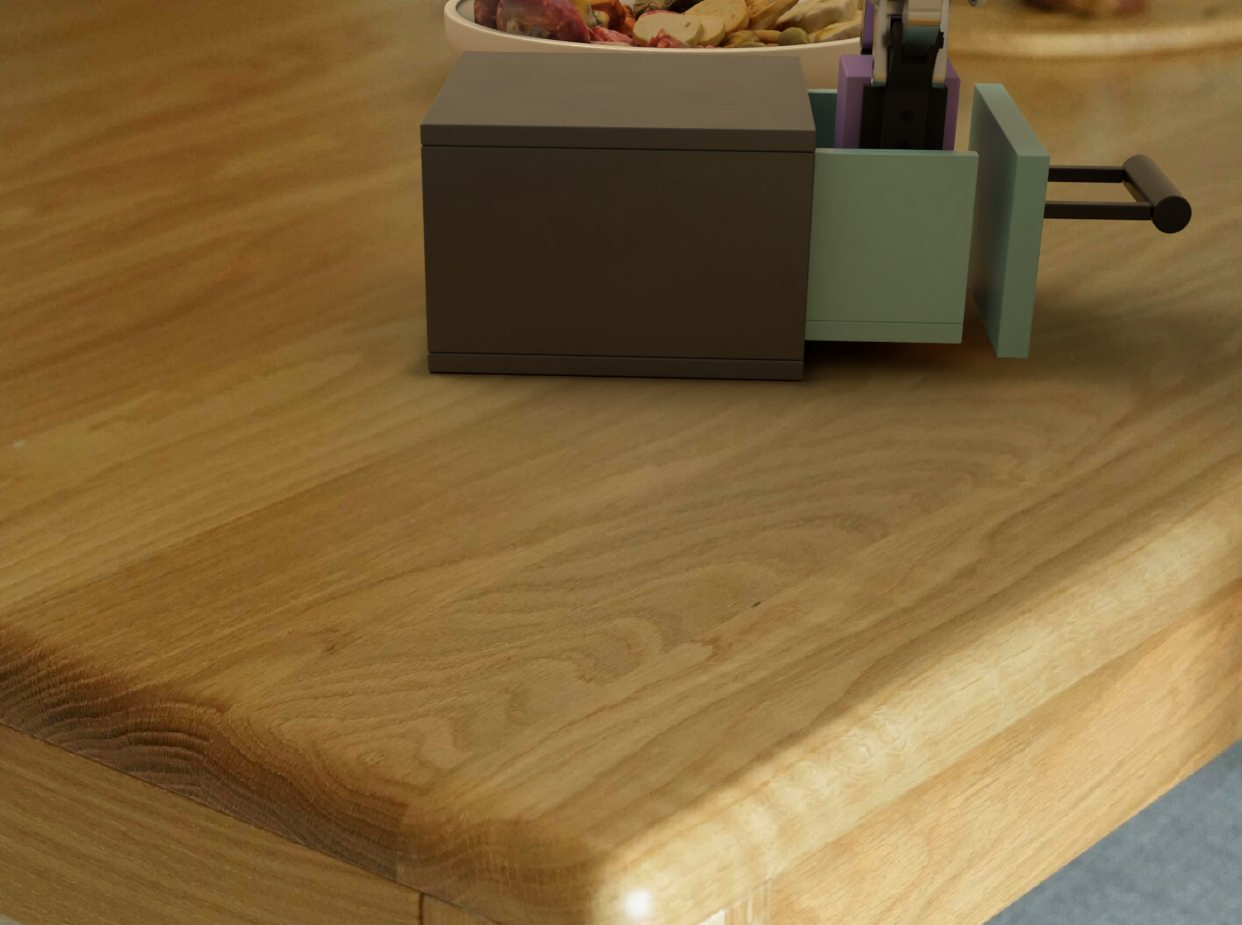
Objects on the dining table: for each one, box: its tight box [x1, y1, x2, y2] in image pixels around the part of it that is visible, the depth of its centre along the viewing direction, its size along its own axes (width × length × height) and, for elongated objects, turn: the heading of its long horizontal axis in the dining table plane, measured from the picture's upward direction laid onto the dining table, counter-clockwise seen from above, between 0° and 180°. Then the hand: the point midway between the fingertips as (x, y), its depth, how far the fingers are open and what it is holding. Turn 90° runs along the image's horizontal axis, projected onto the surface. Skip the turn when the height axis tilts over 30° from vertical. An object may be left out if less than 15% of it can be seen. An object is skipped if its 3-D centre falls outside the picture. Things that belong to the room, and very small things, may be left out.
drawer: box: [805, 82, 1193, 359], centre depth 81 cm, size 20×13×8 cm
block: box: [833, 54, 962, 151], centre depth 80 cm, size 4×4×4 cm
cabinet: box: [419, 51, 817, 381], centre depth 82 cm, size 15×15×10 cm
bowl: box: [443, 0, 863, 89], centre depth 126 cm, size 30×30×8 cm
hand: (891, 168), depth 81 cm, fingers closed on block, 4 cm apart
